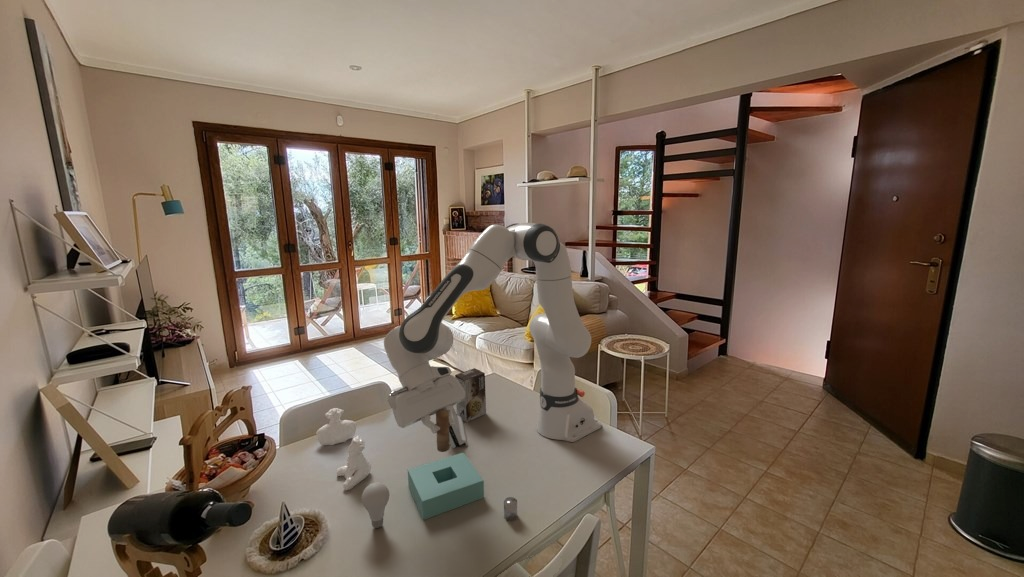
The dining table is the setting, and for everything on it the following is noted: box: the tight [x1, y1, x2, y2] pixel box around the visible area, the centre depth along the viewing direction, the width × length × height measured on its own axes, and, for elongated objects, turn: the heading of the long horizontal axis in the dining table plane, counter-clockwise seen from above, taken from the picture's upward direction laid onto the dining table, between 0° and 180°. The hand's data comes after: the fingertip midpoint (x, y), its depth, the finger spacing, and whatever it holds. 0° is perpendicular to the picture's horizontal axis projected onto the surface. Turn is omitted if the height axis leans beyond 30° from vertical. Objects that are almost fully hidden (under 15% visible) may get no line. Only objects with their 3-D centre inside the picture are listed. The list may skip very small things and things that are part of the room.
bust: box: [315, 407, 357, 446], centre depth 132 cm, size 12×8×11 cm
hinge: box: [449, 406, 469, 449], centre depth 134 cm, size 17×5×10 cm, turn 13°
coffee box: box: [454, 367, 487, 423], centre depth 146 cm, size 9×6×16 cm
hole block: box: [407, 452, 485, 521], centre depth 106 cm, size 16×14×5 cm
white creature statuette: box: [336, 434, 372, 492], centre depth 112 cm, size 10×9×12 cm
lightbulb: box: [361, 481, 390, 529], centre depth 94 cm, size 6×6×11 cm
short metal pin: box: [503, 496, 518, 522], centre depth 98 cm, size 3×3×4 cm
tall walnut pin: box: [435, 410, 451, 453], centre depth 104 cm, size 3×3×10 cm
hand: (444, 428), depth 103 cm, fingers closed on tall walnut pin, 3 cm apart
